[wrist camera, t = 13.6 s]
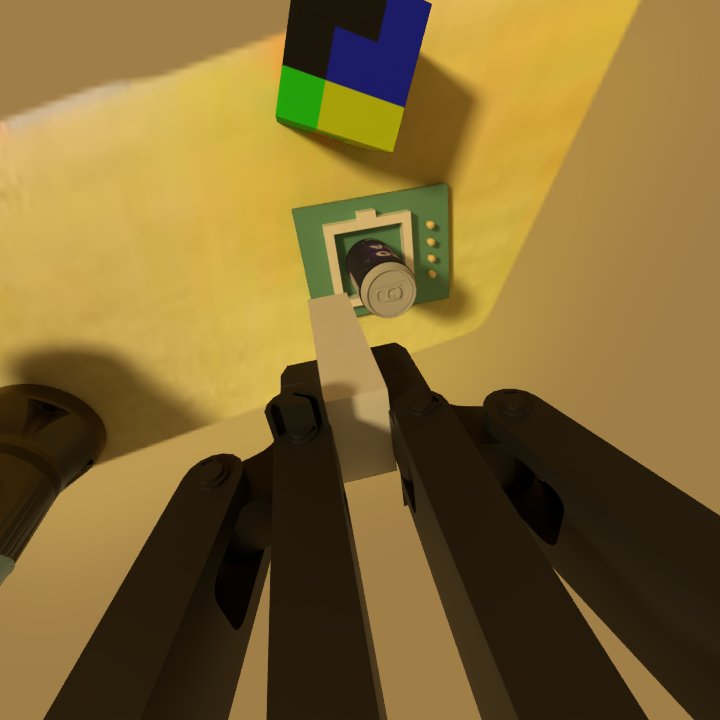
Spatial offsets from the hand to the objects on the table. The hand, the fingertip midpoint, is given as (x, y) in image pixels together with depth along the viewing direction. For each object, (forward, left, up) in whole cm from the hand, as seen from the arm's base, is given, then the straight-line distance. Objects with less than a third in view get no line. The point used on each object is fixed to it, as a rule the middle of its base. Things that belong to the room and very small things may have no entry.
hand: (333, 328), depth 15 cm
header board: (+8, -7, -32) cm, 34 cm away
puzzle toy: (+6, +11, -33) cm, 35 cm away
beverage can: (+7, -7, -31) cm, 33 cm away
